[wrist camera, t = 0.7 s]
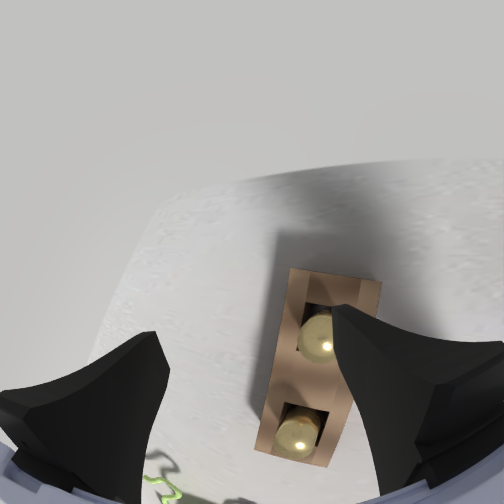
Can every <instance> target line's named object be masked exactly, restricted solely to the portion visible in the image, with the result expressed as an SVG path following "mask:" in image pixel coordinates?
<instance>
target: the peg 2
mask: <svg viewBox="0 0 504 504" xmlns="http://www.w3.org/2000/svg"><path fill="white" fill-rule="evenodd" d="M297 345H298V349H299V351H300V353H301V354H302V355H303V357H304V358H306V359H307V360H309V361H310V362H313V363H317V364H324V363H329V362H331V361H333V360H335V359H336V356H335V353H334V349H333V328H332V311H331V310H322V311H319V312H317V313H316V314H314V315H313V316H312V317H311V318H310V319H309V320H308V321H307V322H306V323H305V324H304V325H303V326H302V327H301V329H300V331H299V333H298V337H297Z"/></svg>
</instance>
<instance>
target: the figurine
mask: <svg viewBox="0 0 504 504" xmlns="http://www.w3.org/2000/svg"><path fill="white" fill-rule="evenodd" d="M143 479H144V480H145V481H147V482H149V483H152V484H158V483H160V482H164V483H166V484H168V485H169V486H170V487H171V488H172V489H173V490H174V491H175V493H176V494H174V495H164V496H162V498H161V500H162V503H163V504H169V503H168V500H174V499H179V498H181V496H182V493H181V491H180V490H179V489H178V488H177V487H176V486H175V485H173V484H172V483H170V482H169V481H168V480H167V479H164V478H161V477H157V478H154V479H153V478H150V477H148V476H147V475H144V476H143Z"/></svg>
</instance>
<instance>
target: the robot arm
mask: <svg viewBox="0 0 504 504" xmlns="http://www.w3.org/2000/svg"><path fill="white" fill-rule="evenodd" d="M331 310H332V328H333V349H334V353H335V356H336V359H337V362H338V366H339V369H340V371H341V373H342V375H343V377H344V379H345V381H346V384H347V386H348V388H349V390H350V392H351V394H352V396H353V398H354V401H355V403H356V405H357V407H358V410H359V412H360V415H361V417H362V420H363V424H364V427H365V430H366V434H367V437H368V441H369V445H370V449H371V452H372V456H373V461H374V465H375V470H376V475H377V480H378V485H379V491H380V497H377V498H374V499H371V500H368V501H364V502H361V503H357V504H504V402H503V401H504V343H503V342H502V341H490V342H459V341H449V340H442V339H436V338H431V337H426V336H422V335H418V334H415V333H411V332H408V331H405V330H402V329H399V328H397V327H394V326H392V325H390V324H387V323H385V322H383V321H380V320H378V319H376V318H374V317H372V316H370V315H368V314H366V313H364V312H362V311H361V310H359V309H357V308H355V307H353V306H351V305H349V304H341V305H336V306H332V307H331ZM169 374H170V367H169V365H168V362H167V360H166V357H165V355H164V352H163V350H162V347H161V345H160V342H159V339H158V337H157V334H156V331H150V332H142V333H140V334H138V335H136V336H134V337H133V338H131V339H129V340H128V341H126V342H125V343H123V344H122V345H120V346H118V347H117V348H115V349H114V350H112V351H111V352H109V353H108V354H106V355H104V356H103V357H101V358H99V359H98V360H96V361H94V362H93V363H91V364H89V365H88V366H86V367H84V368H82V369H80V370H78V371H76V372H74V373H71V374H69V375H67V376H64V377H61V378H59V379H56V380H53V381H51V382H47V383H44V384H40V385H36V386H32V387H26V388H20V389H12V390H4V391H2V392H0V427H1V428H2V429H3V431H4V432H5V433H6V434H7V436H8V437H9V438H10V439H11V440H12V442H13V443H14V444H15V445H16V446H17V447H18V450H17V451H16V452H14V451H13V450H12V449H11V448H10V447H8V446H6V445H5V444H3V443H2V442H0V500H1V501H2V502H3V503H5V504H141V488H142V476H143V467H144V460H145V454H146V449H147V444H148V439H149V435H150V432H151V429H152V426H153V423H154V420H155V418H156V415H157V412H158V410H159V407H160V404H161V402H162V399H163V396H164V394H165V391H166V388H167V383H168V379H169Z"/></svg>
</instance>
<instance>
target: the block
mask: <svg viewBox="0 0 504 504" xmlns="http://www.w3.org/2000/svg"><path fill="white" fill-rule="evenodd" d="M381 284H382V282H379V281H373V280H366V279H359V278H353V277H346V276H339V275H333V274H326V273H320V272H313V271H307V270H301V269H294V268H290V274H289V280H288V286H287V292H286V298H285V304H284V309H283V315H282V320H281V326H280V331H279V336H278V342H277V347H276V352H275V357H274V362H273V367H272V372H271V377H270V381H269V386H268V391H267V395H266V400H265V405H264V409H263V413H262V418H261V422H260V426H259V431H258V435H257V439H256V443H255V447H254V450H257V451H260V452H264V453H267V454H270V455H274V456H278V457H281V458H285V457H283V456H281V455H280V454H278V453H277V452H276V450H275V449H274V447H273V438H274V436H275V435H276V433H277V431H278V430H279V428H280V426H281V424H282V423H283V421H284V419H285V417H286V415H287V412H288V408H289V404H290V403H291V404H296V405H300V406H304V407H309V408H313V409H318V410H323V411H328V414H327V417H326V420H325V423H324V426H322V425H320V428H319V432H318V435H317V439H316V442H315V445H314V448H313V451H312V452H311V453H310V454H309V455H308V456H306V457H304V458H301V459H289V460H293V461H297V462H302V463H306V464H311V465H316V466H321V467H328V465H329V462H330V460H331V458H332V455H333V453H334V451H335V448H336V446H337V444H338V441H339V439H340V436H341V433H342V431H343V428H344V426H345V423H346V420H347V417H348V415H349V412H350V409H351V406H352V403H353V400H354V398H353V396H352V394H351V392H350V390H349V388H348V386H347V384H346V381H345V379H344V377H343V375H342V373H341V371H340V369H339V366H338V362H337V359H335V360H333V361H331V362H329V363H324V364H317V363H313V362H310V361H309V360H307V359H306V358H304V357H303V355H302V354H301V353H300V351H299V349H298V345H297V337H298V333H299V331H300V329H301V327H302V326H303V325H304V324H305V323H306V322H307V321H308V319H309V314H310V309H311V303H314V304H320V305H326V306H336V305H341V304H349V305H351V306H353V307H355V308H357V309H359V310H361V311H362V312H364V313H366V314H368V315H370V316H372V317H374V318H375V317H376V312H377V306H378V301H379V295H380V290H381ZM285 459H288V458H285Z"/></svg>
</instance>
